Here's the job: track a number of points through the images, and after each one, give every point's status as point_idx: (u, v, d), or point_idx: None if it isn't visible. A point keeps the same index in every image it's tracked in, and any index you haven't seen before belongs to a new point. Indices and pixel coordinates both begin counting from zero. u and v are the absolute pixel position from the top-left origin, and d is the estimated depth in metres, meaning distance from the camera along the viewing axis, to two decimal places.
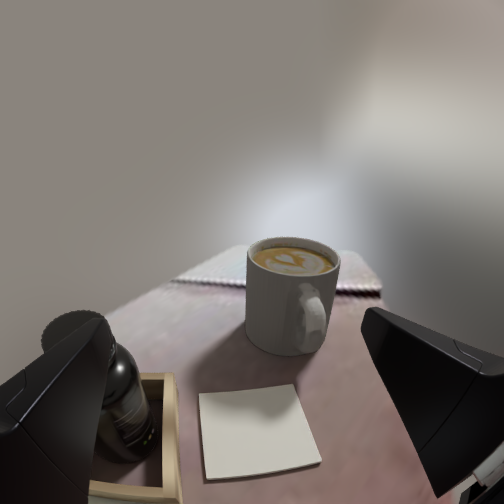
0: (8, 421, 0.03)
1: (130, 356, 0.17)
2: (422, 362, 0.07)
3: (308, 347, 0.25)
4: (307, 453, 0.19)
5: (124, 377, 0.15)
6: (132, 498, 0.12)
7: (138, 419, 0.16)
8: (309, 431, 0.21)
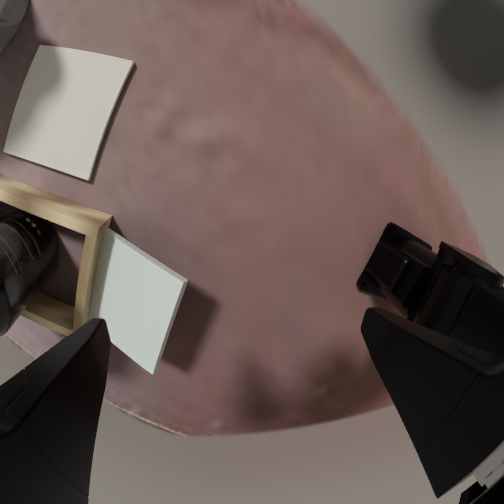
0: (8, 421, 0.03)
1: None
2: (422, 362, 0.07)
3: (16, 17, 0.08)
4: (115, 69, 0.15)
5: None
6: (94, 264, 0.18)
7: (14, 242, 0.14)
8: (95, 54, 0.14)
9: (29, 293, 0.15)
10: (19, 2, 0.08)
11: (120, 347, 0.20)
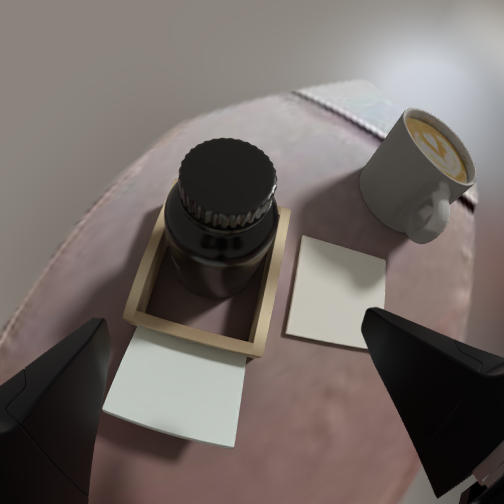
0: (8, 422, 0.03)
1: (275, 201, 0.17)
2: (422, 362, 0.07)
3: (418, 239, 0.24)
4: None
5: (269, 230, 0.16)
6: (216, 347, 0.19)
7: (255, 267, 0.19)
8: None
9: (202, 277, 0.18)
10: None
11: (121, 368, 0.17)
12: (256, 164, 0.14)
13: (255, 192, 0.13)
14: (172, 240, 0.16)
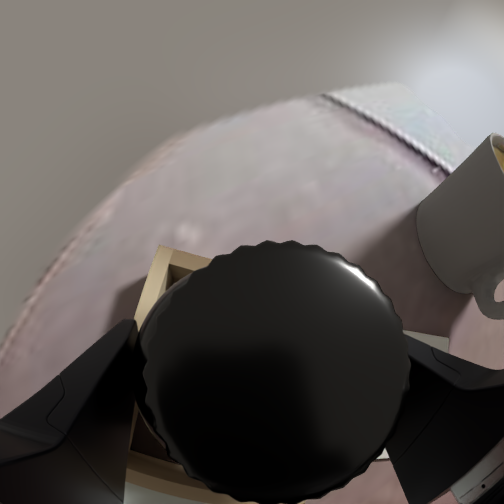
0: (51, 434, 0.03)
1: None
2: None
3: (494, 317, 0.15)
4: None
5: None
6: None
7: None
8: None
9: None
10: None
11: None
12: (367, 334, 0.05)
13: (366, 428, 0.04)
14: None
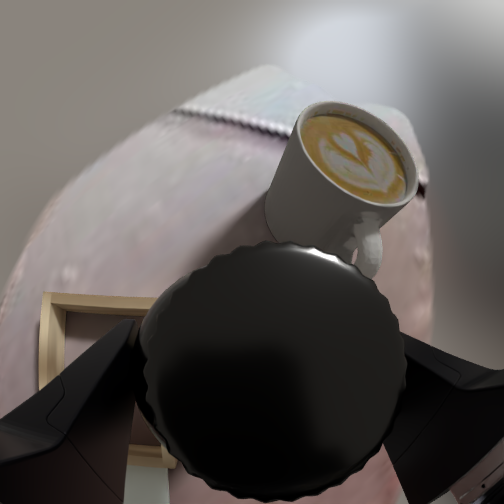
0: (51, 433, 0.03)
1: None
2: None
3: None
4: None
5: None
6: None
7: None
8: None
9: None
10: None
11: None
12: (364, 333, 0.05)
13: (363, 425, 0.04)
14: None
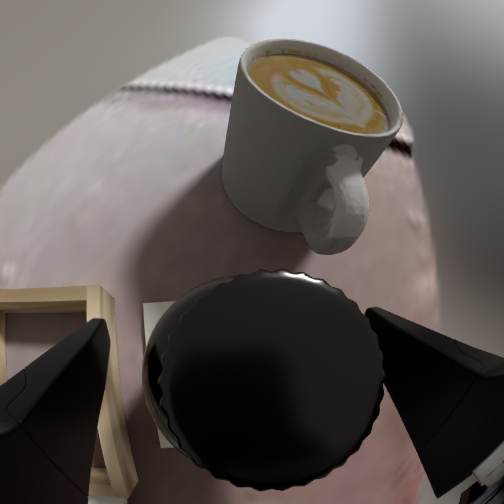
0: (8, 421, 0.03)
1: None
2: (422, 362, 0.07)
3: (324, 253, 0.16)
4: None
5: None
6: None
7: None
8: None
9: None
10: None
11: None
12: (346, 348, 0.06)
13: (344, 427, 0.05)
14: (165, 437, 0.07)
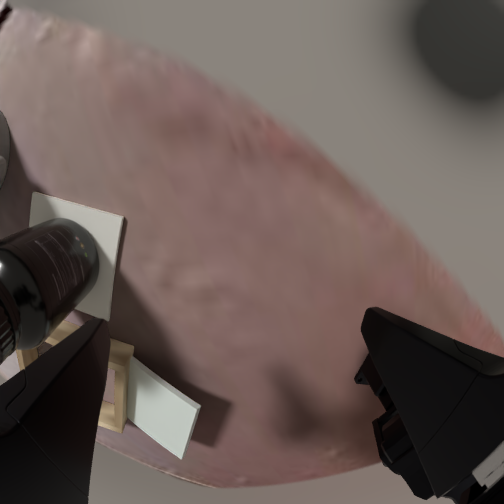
0: (7, 421, 0.03)
1: None
2: (422, 362, 0.07)
3: None
4: (108, 226, 0.20)
5: (19, 278, 0.11)
6: (125, 386, 0.22)
7: (62, 263, 0.15)
8: (86, 209, 0.19)
9: (65, 316, 0.15)
10: None
11: (154, 438, 0.23)
12: None
13: None
14: None
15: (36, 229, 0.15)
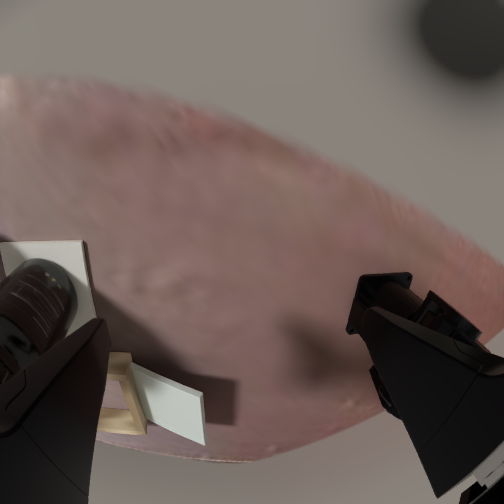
0: (8, 421, 0.03)
1: None
2: (422, 362, 0.07)
3: None
4: (71, 253, 0.19)
5: (6, 332, 0.11)
6: (133, 391, 0.23)
7: (40, 303, 0.15)
8: (48, 244, 0.19)
9: None
10: None
11: (175, 432, 0.25)
12: None
13: None
14: None
15: (9, 280, 0.15)
